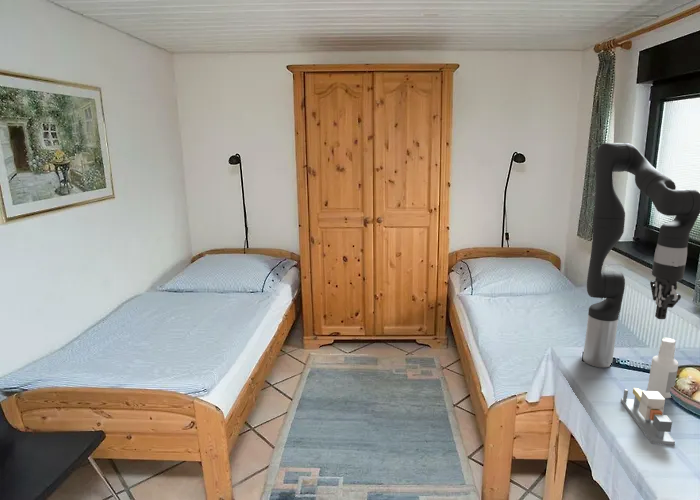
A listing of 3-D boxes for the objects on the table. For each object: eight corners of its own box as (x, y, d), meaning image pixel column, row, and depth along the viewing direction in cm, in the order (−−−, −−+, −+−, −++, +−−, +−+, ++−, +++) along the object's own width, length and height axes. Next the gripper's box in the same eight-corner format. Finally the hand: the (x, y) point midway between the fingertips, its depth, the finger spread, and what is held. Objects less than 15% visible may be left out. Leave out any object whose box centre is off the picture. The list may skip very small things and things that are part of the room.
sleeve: (638, 411, 138) (642, 390, 136) (654, 411, 137) (658, 391, 136) (645, 419, 134) (648, 398, 132) (661, 420, 134) (665, 399, 132)
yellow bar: (629, 394, 145) (631, 385, 144) (640, 395, 145) (641, 386, 144) (658, 431, 128) (659, 421, 127) (670, 432, 128) (672, 422, 127)
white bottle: (676, 399, 148) (686, 345, 143) (652, 397, 149) (661, 344, 145) (667, 388, 155) (676, 335, 150) (643, 386, 156) (652, 334, 151)
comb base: (620, 401, 148) (622, 387, 147) (640, 402, 147) (642, 388, 146) (651, 443, 129) (654, 428, 128) (674, 445, 128) (677, 430, 127)
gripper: (644, 254, 143) (636, 309, 148) (667, 267, 130) (657, 327, 135) (671, 254, 142) (662, 309, 147) (697, 268, 129) (686, 328, 134)
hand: (660, 318), depth 141 cm, fingers closed
